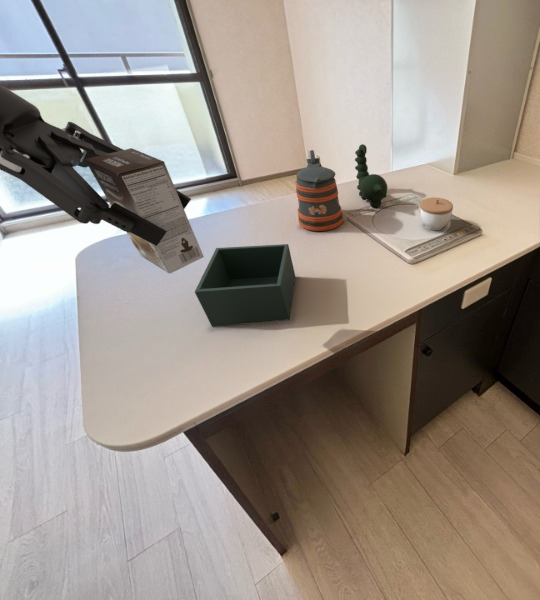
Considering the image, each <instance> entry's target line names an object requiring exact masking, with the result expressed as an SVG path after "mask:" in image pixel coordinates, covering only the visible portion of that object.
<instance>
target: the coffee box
mask: <svg viewBox="0 0 540 600" xmlns="http://www.w3.org/2000/svg"><path fill="white" fill-rule="evenodd" d="M85 161H86V163H87V165H88V166H89V167H88V168H89V170H90V171H91V174H92V175H93V177H94V178H95V180H96V182H97V184H98V185H99V187H100V189H101V191H102V192H103V194H104V196H105V198H106V199H107V201H108V204H109V206H110V207H111V206H112V204H113V203H117V204H118V205H120V206H122V207H124V208H126V209H128V210H129V211H131V212H133V213H135V214H137V215H138V216H140V217H142V218H144V219H146V220H148V221H149V222H151V223H153V224H155V225H157V226H158V227H160V228H162V229H164V230H166V231H167V232H166V234H165V235H164V237H163V238H162V240H161V241H160V242H159V244H158V245H157V246H156V245H154V244H152V243H150V242H148V241H146V240H144V239H142V238H140V237H138V236H136V235H134V234H132V233H130V232H126V234H127V236H128V237H129V239H130V241H131V243H132V245H133V246H134V248H135V250H136V251H137V253H138V254H139V256H140V257H141V258H143V259H145V260H146V261H148V262H150V263H151V264H153V265H155V266H156V267H158V268H159V269H161V270H162V271H165V273H167V274H172V273H175V272H176V271H178V270H180V269H184V268H185V267H187V266H189V265H191V264H193V263H195V262H197V261H199V260H201V259H203V258H205V257H204V254H203V251H202V249H201V247H200V244H199V242H198V239H197V237H196V235H195V232H194V230H193V227H192V225H191V223H190V220H189V218H188V216H187V213H186V211H185V209H184V208H183V206H182V204H181V201H180V199H179V196H178V194H177V192H176V190H177V189H176V187H175V184H174V182H173V180H172V177H171V175H170V172H169V170H168V168H167V165H166V163H165V161H164V160H162V159H159V158H156V157H155V156H151V155H149V154H147V153H144V152H141V151H140V150H137V149H135V148H131V147H130V148H127V149H123V150H122V151H118V152H114V153H109V154H104V155H100V156H96V157H92V158H88V159H85Z"/></svg>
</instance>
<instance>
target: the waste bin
mask: <svg viewBox="0 0 540 600" xmlns="http://www.w3.org/2000/svg"><path fill="white" fill-rule="evenodd" d="M291 254H292V253H291V250H290V245H289V243H284V244H267V245H266V244H265V245H263V244H262V245H248V246H247V245H246V246H245V245H244V246H229V247H228V246H227V247H216V248H215V250H214V251H213V254H212V256H211V258H210V260H209V261H208V264H207V266H206V268H205V270H204V272H203V274H202V276H201V278H200V280H199V282H198V283H197V286H196V287H195V290H194V294H195V296H196V298H197V300H198V302H199V304H200V305H201V308H202V310H203V312H204V314H205V316H206V318H207V320H208V321H209V324H210V326H211V328H212V327H224V326H225V327H226V326H234V325H235V326H236V325H247V324H258V323H259V324H260V323H269V322H270V323H271V322H281V321H290V319H291V313H292V305H293V298H294V290H295V283H296V273H295V268H294V264H293V259H292V255H291Z"/></svg>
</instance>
